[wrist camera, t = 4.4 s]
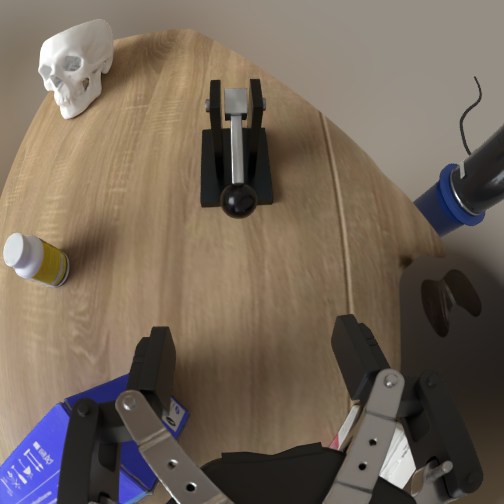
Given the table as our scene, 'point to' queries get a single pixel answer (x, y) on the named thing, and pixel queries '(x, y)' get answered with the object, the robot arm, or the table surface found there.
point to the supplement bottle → (36, 260)
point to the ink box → (398, 456)
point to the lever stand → (219, 150)
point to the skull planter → (77, 64)
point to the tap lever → (237, 159)
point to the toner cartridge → (51, 449)
